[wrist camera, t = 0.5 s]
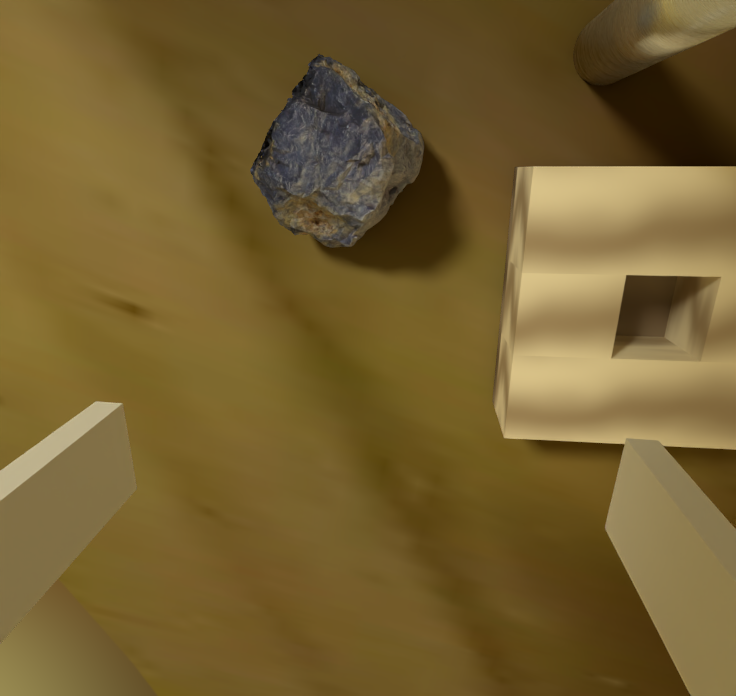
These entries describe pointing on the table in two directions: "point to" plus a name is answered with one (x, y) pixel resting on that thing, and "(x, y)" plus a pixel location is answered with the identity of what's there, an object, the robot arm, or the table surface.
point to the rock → (336, 156)
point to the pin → (646, 35)
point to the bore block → (620, 306)
